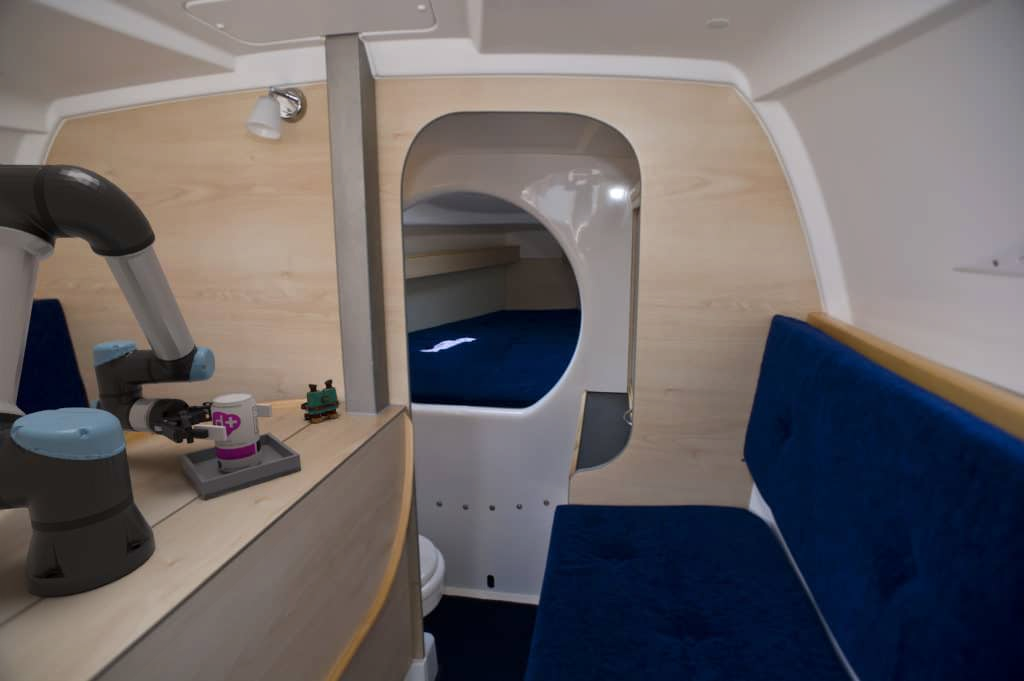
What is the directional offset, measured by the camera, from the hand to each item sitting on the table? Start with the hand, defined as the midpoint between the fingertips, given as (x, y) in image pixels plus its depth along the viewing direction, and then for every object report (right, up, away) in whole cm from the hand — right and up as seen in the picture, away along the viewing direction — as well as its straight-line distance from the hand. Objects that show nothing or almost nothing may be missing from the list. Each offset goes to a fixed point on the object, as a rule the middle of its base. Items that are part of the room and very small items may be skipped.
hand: (249, 421), depth 105 cm
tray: (-3, -11, +3) cm, 11 cm away
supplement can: (-3, -10, +3) cm, 11 cm away
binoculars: (+1, -5, +35) cm, 36 cm away
